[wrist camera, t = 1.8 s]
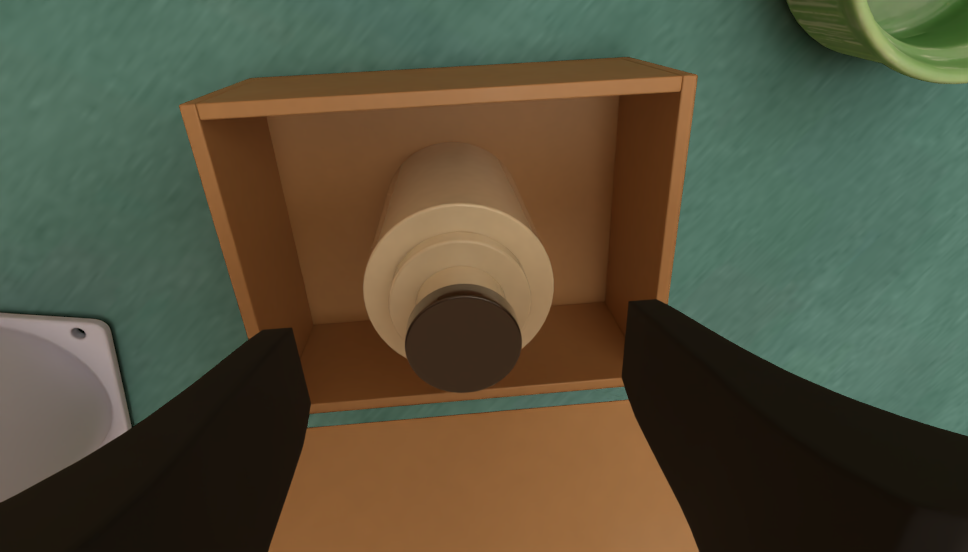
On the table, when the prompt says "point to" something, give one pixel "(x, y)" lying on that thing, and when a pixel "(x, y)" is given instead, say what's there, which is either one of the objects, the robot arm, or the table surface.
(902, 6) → the ramekin
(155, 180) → the table surface
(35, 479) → the robot arm
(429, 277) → the bottle
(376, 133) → the carton
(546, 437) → the flap
